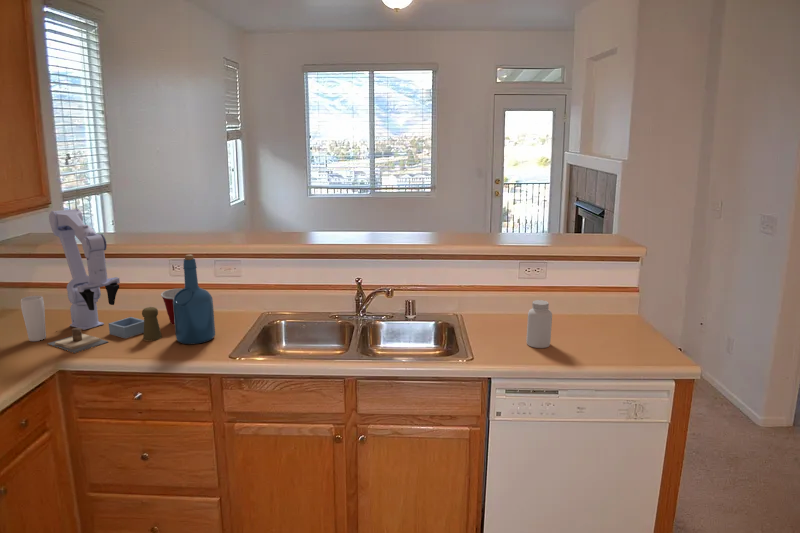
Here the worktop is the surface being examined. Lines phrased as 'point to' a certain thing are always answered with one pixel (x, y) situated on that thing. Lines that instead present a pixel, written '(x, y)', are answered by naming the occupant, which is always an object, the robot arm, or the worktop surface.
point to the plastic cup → (170, 302)
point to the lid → (77, 340)
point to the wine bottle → (193, 309)
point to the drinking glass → (34, 317)
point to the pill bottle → (539, 325)
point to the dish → (127, 327)
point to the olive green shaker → (151, 324)
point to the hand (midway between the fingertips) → (101, 307)
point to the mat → (79, 347)
